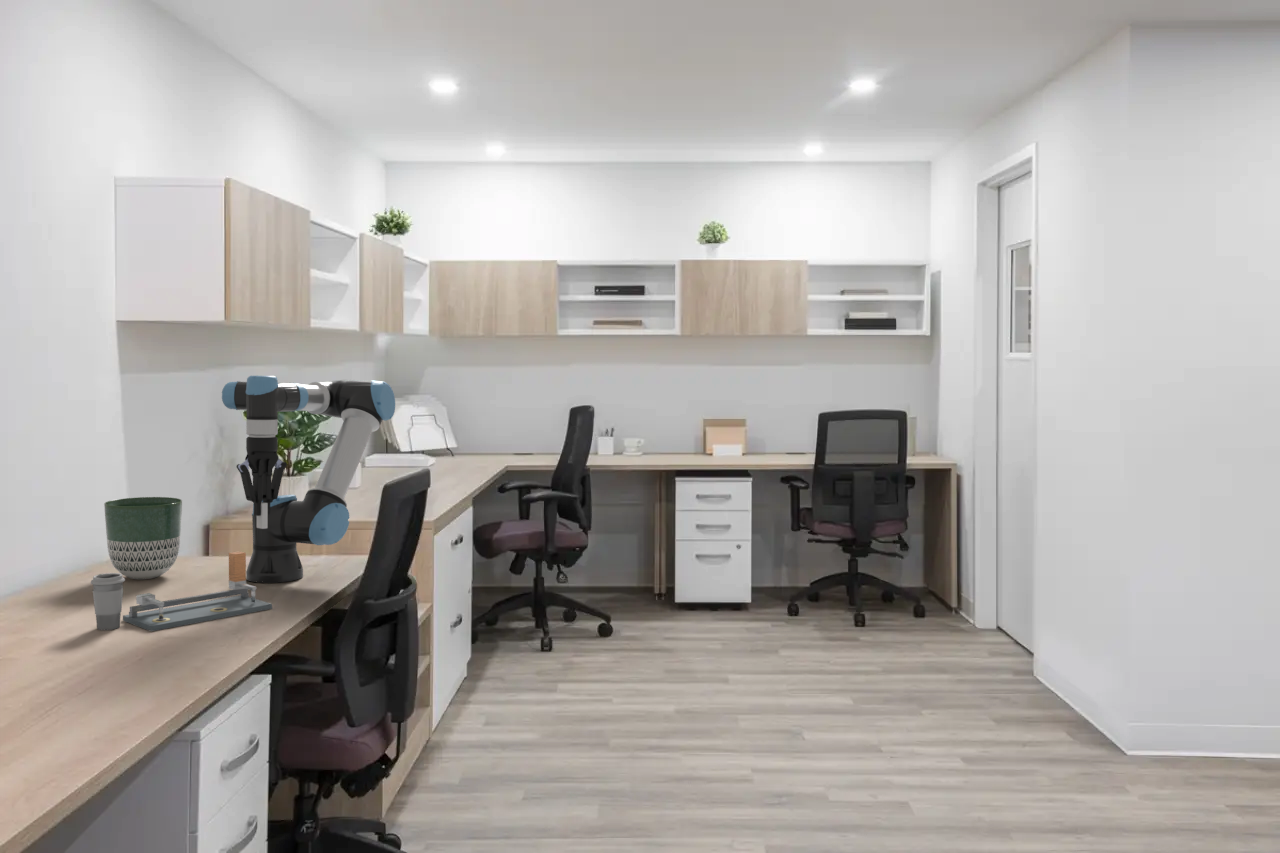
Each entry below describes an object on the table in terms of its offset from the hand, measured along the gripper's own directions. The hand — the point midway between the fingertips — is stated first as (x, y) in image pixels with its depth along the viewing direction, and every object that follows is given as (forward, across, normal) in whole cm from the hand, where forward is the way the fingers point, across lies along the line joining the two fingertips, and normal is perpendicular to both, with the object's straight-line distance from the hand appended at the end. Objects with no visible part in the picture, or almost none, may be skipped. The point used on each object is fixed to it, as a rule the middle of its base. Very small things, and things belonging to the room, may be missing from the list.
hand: (262, 527), depth 267 cm
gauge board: (+19, +19, +4) cm, 27 cm away
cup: (+19, +39, +1) cm, 43 cm away
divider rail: (+17, +19, +3) cm, 26 cm away
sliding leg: (+17, +7, +3) cm, 18 cm away
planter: (+19, +9, -46) cm, 51 cm away
